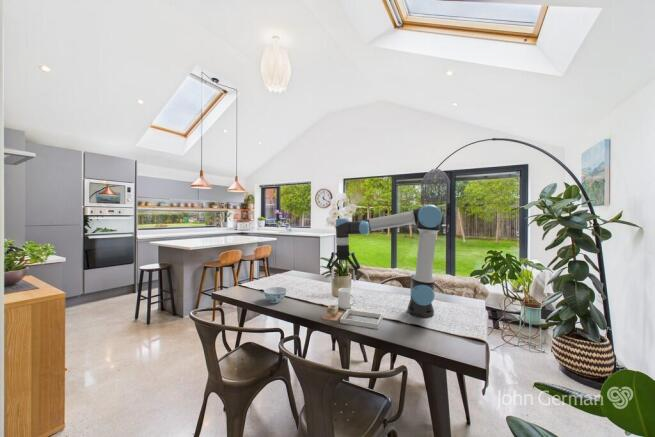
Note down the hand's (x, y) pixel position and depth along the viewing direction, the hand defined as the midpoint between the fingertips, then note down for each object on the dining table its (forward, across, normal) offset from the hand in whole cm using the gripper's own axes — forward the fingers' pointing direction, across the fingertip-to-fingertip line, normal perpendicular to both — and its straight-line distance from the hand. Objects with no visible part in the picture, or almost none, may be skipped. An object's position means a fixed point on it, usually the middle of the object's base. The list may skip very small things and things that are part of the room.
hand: (343, 279), depth 162 cm
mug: (+20, +2, -11) cm, 23 cm away
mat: (+20, +5, +6) cm, 22 cm away
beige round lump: (+20, +5, +6) cm, 21 cm away
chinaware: (+19, +50, -4) cm, 53 cm away
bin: (+20, -12, +7) cm, 25 cm away
